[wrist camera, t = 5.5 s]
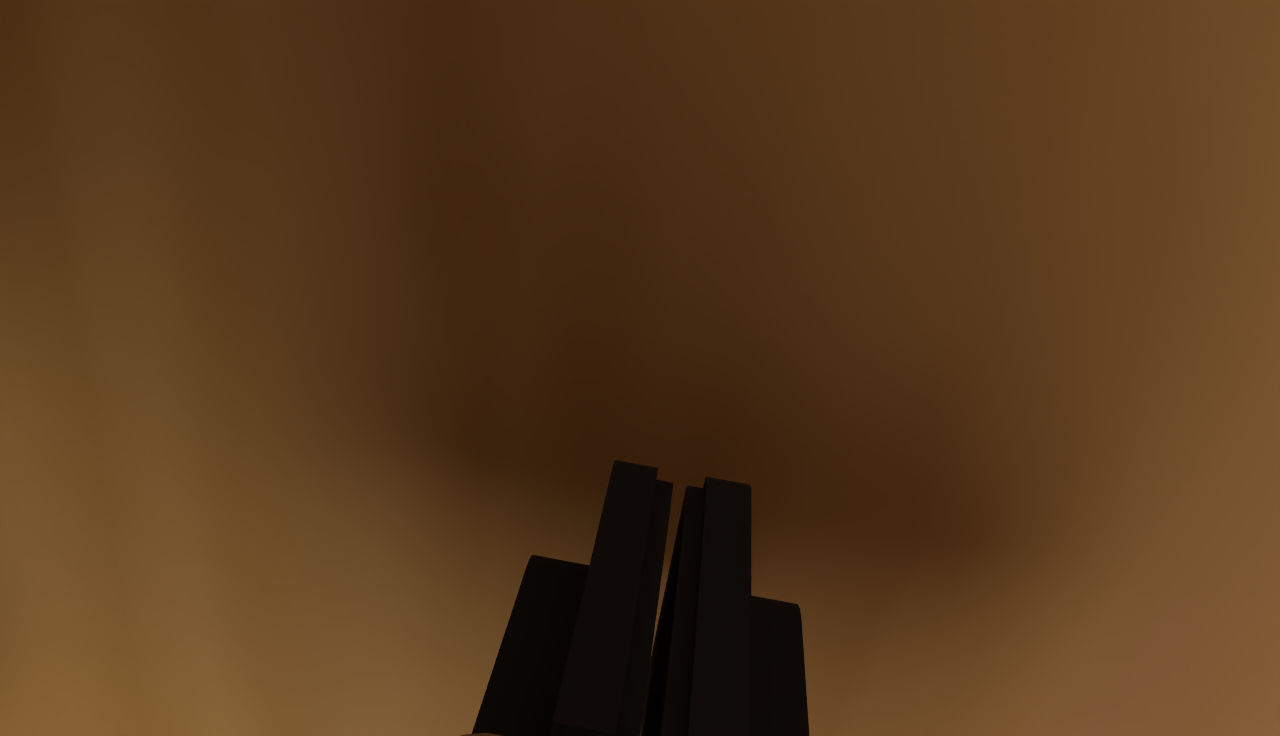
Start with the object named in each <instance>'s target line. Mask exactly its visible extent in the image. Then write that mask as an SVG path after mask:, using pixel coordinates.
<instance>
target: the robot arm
mask: <svg viewBox="0 0 1280 736" xmlns="http://www.w3.org/2000/svg"><path fill="white" fill-rule="evenodd" d="M657 472H658V468H655V467H650V466H645V465H639V464H634V463H628V462H623V461H617V460H615V461H614V465H613V469H612V473H611V477H610V481H609V486H608V490H607V494H606V498H605V502H604V507H603V511H602V515H601V519H600V524H599V528H598V532H597V536H596V540H595V545H594V549H593V553H592V557H591V561H590V566H589V565H584V564H579V563H573V562H568V561H563V560H557V559H552V558H546V557H541V556H536V555H532V556H531V557H530V559H529V562H528V565H527V567H526V570H525V573H524V576H523V579H522V582H521V585H520V588H519V592H518V595H517V598H516V601H515V604H514V607H513V610H512V613H511V616H510V619H509V622H508V625H507V628H506V631H505V634H504V637H503V640H502V643H501V646H500V649H499V652H498V655H497V658H496V661H495V665H494V668H493V671H492V674H491V677H490V680H489V683H488V686H487V689H486V692H485V695H484V698H483V701H482V704H481V707H480V710H479V713H478V716H477V719H476V722H475V725H474V728H473V731H472V734H466V735H461V736H640V733H641V736H809V724H808V709H807V695H806V680H805V665H804V650H803V636H802V621H801V613H800V608H799V606H798V604H793V603H788V602H783V601H777V600H772V599H766V598H761V597H756V596H751V486H750V485H748V484H743V483H737V482H732V481H726V480H721V479H715V478H710V477H706V479H705V483H704V486H703V488H699V487H693V486H688V485H687V488H686V492H685V496H684V501H683V506H682V511H681V515H680V520H679V525H678V530H677V535H676V539H675V544H674V549H673V554H672V559H671V563H670V568H669V573H668V578H667V583H666V588H665V592H664V597H663V602H662V607H661V612H660V616H659V621H658V626H657V631H656V636H655V640H654V645H653V650H652V644H653V637H654V629H655V621H656V614H657V606H658V598H659V591H660V583H661V575H662V567H663V560H664V552H665V544H666V537H667V529H668V521H669V513H670V506H671V498H672V490H673V483H671V482H666V481H660V480H656V478H657ZM651 652H652V656H651ZM650 660H651V662H650ZM641 727H642V728H641Z"/></svg>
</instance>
